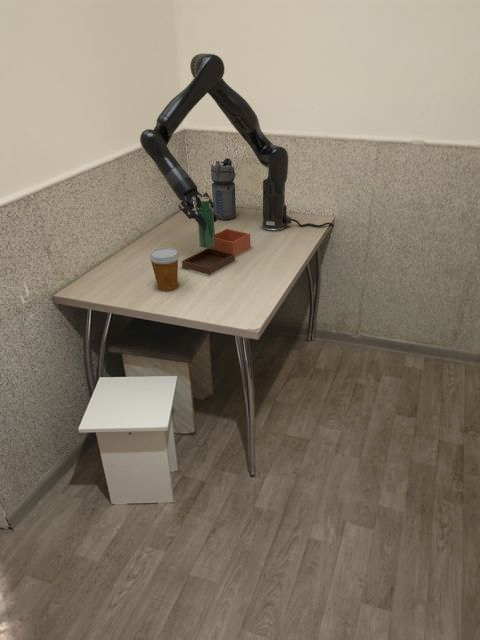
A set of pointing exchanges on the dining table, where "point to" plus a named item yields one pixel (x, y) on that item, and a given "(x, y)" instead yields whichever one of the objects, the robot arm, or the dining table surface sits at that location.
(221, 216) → the beverage bottle
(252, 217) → the dining table surface
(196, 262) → the tray
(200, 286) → the dining table surface
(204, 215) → the bottle
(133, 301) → the dining table surface
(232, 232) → the bin
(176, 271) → the disposable coffee cup
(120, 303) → the dining table surface
